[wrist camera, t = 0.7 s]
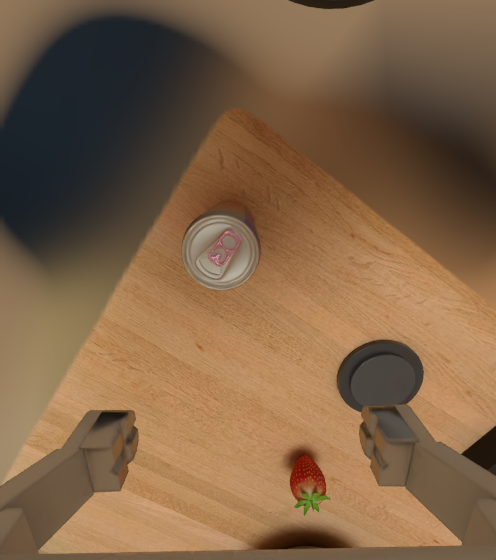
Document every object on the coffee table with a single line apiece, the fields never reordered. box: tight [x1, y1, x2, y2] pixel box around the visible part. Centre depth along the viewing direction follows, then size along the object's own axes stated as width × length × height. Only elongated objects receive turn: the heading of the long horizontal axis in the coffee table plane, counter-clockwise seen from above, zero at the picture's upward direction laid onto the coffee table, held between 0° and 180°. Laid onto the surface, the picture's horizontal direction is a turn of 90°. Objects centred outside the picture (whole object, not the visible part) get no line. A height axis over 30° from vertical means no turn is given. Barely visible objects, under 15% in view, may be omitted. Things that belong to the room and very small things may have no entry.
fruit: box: [290, 456, 331, 515], centre depth 43 cm, size 5×5×8 cm
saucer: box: [337, 340, 424, 412], centre depth 41 cm, size 12×12×1 cm
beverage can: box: [182, 201, 261, 290], centre depth 28 cm, size 6×6×15 cm
